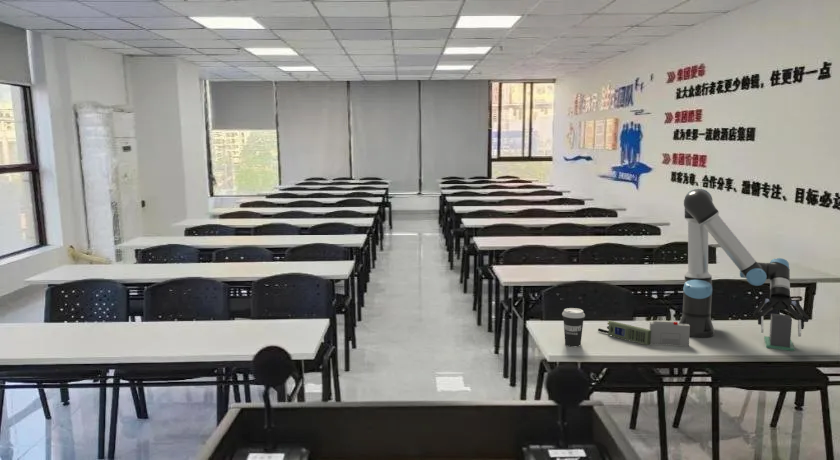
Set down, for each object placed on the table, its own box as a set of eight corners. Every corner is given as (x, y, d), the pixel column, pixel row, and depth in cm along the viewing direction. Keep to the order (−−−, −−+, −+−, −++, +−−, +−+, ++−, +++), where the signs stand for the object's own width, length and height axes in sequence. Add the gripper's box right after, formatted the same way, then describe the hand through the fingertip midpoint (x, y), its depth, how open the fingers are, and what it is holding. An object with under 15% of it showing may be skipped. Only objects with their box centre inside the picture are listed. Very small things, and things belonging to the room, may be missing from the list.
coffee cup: (556, 342, 260) (557, 309, 258) (574, 339, 264) (575, 306, 262) (570, 349, 252) (571, 314, 250) (588, 346, 255) (589, 311, 254)
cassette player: (687, 344, 257) (688, 321, 255) (688, 346, 254) (690, 323, 253) (649, 342, 260) (650, 320, 259) (650, 344, 258) (651, 321, 256)
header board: (766, 347, 251) (767, 338, 251) (764, 338, 264) (764, 329, 263) (794, 351, 247) (794, 341, 246) (790, 341, 259) (791, 332, 259)
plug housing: (770, 345, 251) (772, 317, 250) (769, 340, 258) (771, 313, 256) (789, 347, 248) (791, 319, 247) (788, 342, 254) (790, 315, 253)
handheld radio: (647, 346, 255) (596, 333, 274) (651, 344, 257) (600, 331, 276) (648, 330, 255) (597, 318, 273) (652, 329, 257) (601, 317, 276)
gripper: (812, 297, 259) (814, 341, 247) (747, 292, 270) (746, 333, 258) (815, 288, 253) (817, 332, 242) (748, 283, 264) (747, 324, 253)
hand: (780, 333), depth 250 cm, fingers open, 13 cm apart
